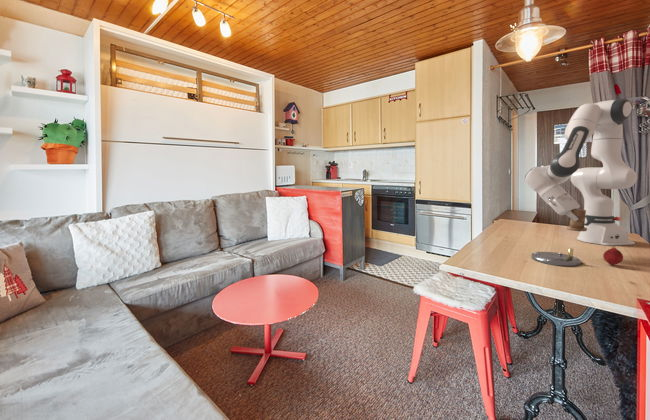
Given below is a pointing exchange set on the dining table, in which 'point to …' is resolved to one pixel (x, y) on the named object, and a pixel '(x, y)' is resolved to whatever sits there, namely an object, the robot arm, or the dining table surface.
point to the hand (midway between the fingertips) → (579, 219)
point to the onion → (613, 256)
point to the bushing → (578, 221)
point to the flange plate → (556, 258)
